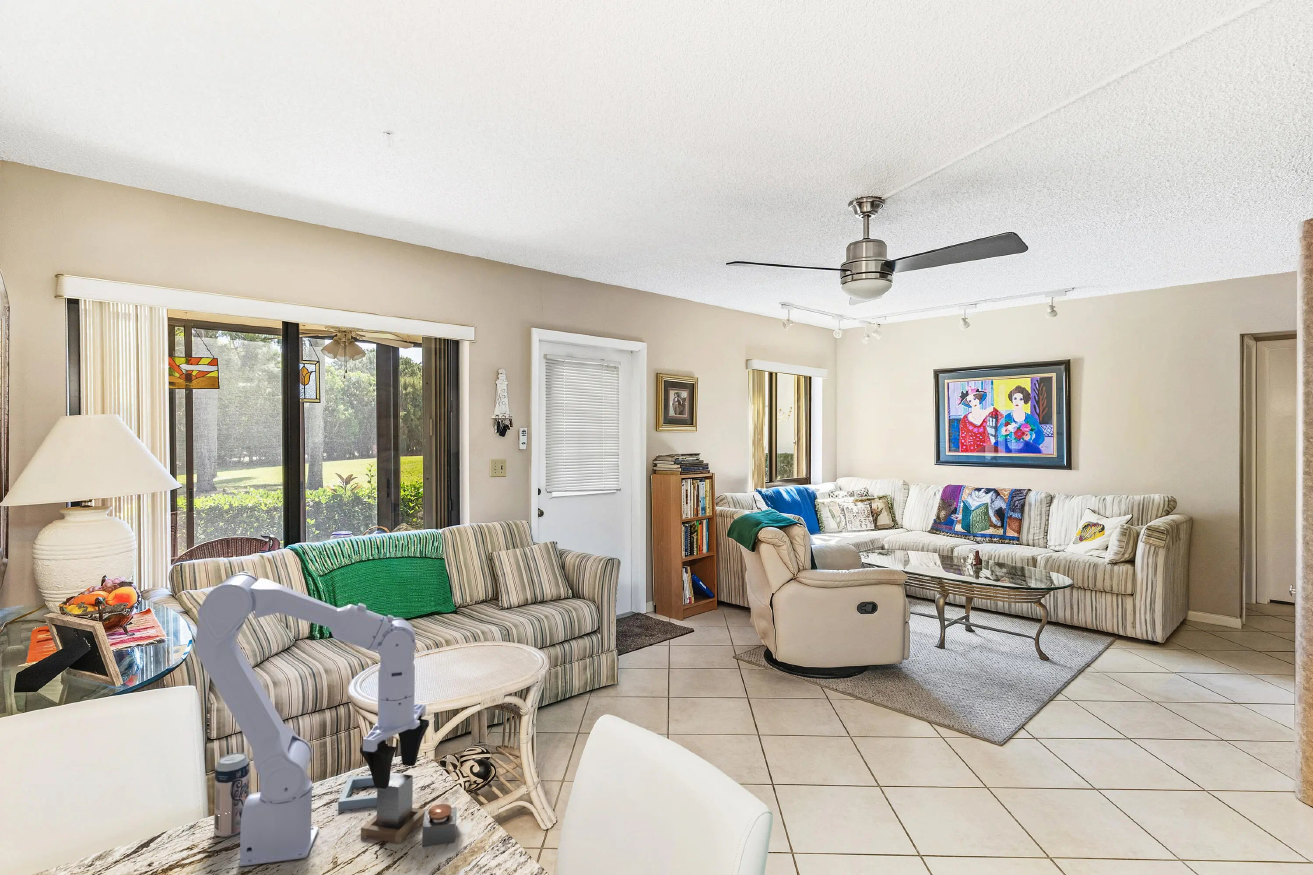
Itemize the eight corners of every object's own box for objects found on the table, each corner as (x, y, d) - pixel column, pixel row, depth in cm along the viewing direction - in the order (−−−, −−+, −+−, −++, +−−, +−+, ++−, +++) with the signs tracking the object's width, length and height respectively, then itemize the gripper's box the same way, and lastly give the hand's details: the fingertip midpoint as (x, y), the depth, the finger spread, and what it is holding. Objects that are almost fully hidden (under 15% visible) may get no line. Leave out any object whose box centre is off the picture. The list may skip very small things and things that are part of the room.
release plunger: (427, 838, 107) (427, 817, 107) (429, 826, 111) (429, 805, 111) (450, 836, 108) (450, 814, 108) (451, 823, 112) (452, 802, 112)
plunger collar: (422, 846, 106) (422, 827, 107) (425, 828, 111) (425, 810, 111) (454, 842, 108) (455, 823, 108) (456, 824, 113) (456, 807, 113)
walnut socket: (400, 843, 107) (401, 834, 107) (360, 836, 109) (360, 827, 109) (426, 818, 114) (426, 809, 114) (388, 812, 116) (388, 803, 116)
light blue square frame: (338, 810, 117) (338, 801, 117) (348, 785, 125) (348, 777, 125) (390, 804, 119) (390, 795, 119) (397, 780, 127) (397, 772, 127)
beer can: (242, 837, 108) (243, 763, 108) (208, 841, 107) (210, 766, 107) (252, 821, 113) (253, 750, 113) (221, 824, 112) (222, 752, 112)
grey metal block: (397, 836, 109) (398, 787, 109) (376, 832, 110) (377, 784, 110) (412, 822, 113) (412, 775, 113) (391, 819, 114) (391, 772, 114)
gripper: (391, 713, 104) (390, 801, 104) (441, 681, 118) (440, 758, 118) (351, 709, 105) (350, 795, 105) (405, 677, 120) (405, 753, 119)
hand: (395, 775), depth 112 cm, fingers open, 7 cm apart
